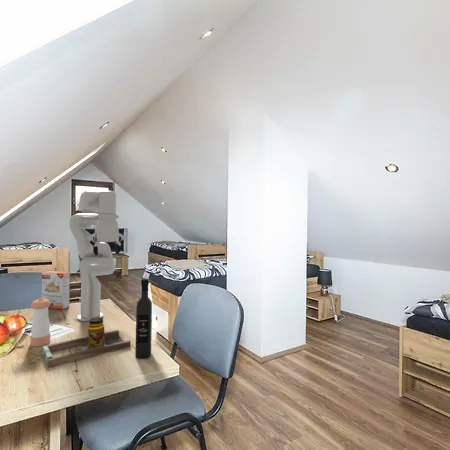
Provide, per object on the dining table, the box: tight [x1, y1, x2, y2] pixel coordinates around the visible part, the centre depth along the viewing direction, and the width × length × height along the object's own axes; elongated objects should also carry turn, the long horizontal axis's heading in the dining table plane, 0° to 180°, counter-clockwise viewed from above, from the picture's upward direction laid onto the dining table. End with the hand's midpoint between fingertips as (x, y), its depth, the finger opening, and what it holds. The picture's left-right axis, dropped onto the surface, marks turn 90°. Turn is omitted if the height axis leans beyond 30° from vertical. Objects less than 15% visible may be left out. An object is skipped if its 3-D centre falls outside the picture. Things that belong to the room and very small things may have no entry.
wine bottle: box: [134, 278, 153, 359], centre depth 121 cm, size 6×6×30 cm
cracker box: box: [41, 270, 71, 310], centre depth 180 cm, size 14×6×21 cm, turn 81°
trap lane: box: [41, 329, 132, 368], centre depth 125 cm, size 15×30×3 cm, turn 129°
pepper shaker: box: [29, 297, 51, 347], centre depth 130 cm, size 7×7×19 cm
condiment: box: [80, 317, 106, 351], centre depth 127 cm, size 7×8×12 cm
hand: (106, 254), depth 144 cm, fingers open, 9 cm apart
